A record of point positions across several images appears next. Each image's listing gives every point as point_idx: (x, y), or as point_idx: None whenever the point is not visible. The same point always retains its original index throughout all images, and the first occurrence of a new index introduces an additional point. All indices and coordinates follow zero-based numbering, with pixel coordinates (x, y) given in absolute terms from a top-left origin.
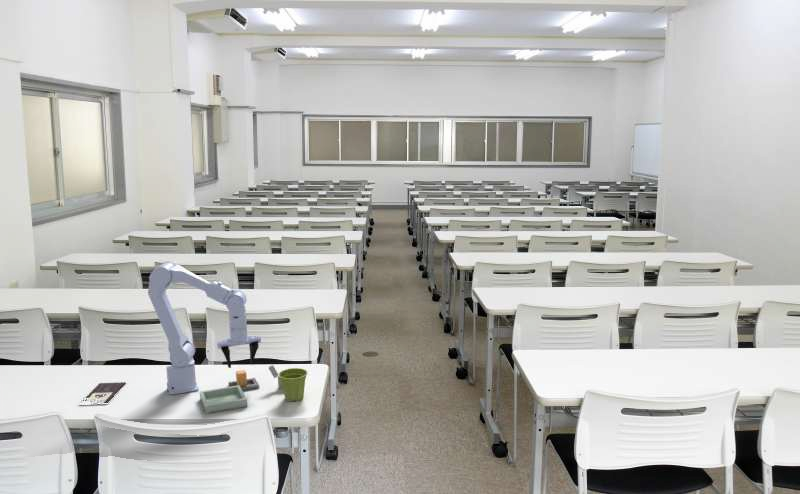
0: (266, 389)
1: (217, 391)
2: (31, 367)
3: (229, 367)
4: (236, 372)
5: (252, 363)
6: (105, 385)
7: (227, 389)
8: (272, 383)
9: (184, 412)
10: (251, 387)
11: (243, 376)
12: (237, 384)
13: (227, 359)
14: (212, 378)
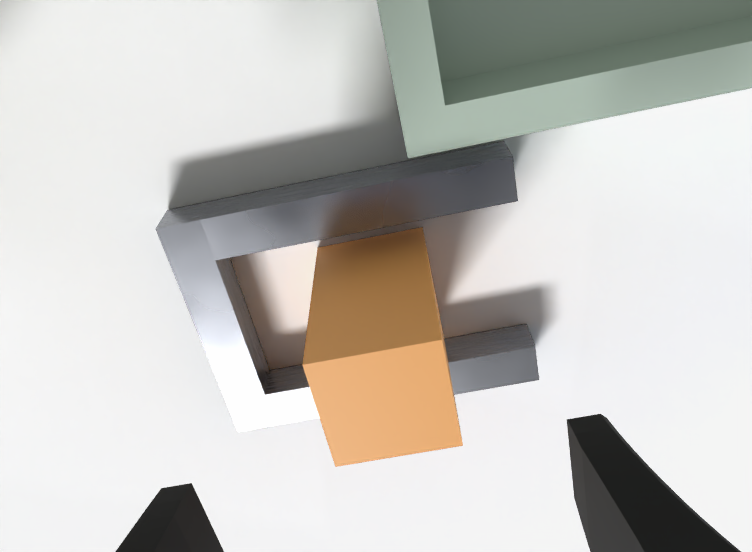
0: (62, 147)
1: (740, 35)
2: None
3: (597, 420)
4: (454, 402)
5: (168, 497)
6: None
7: (588, 67)
8: (28, 311)
9: None
10: (255, 200)
11: (349, 324)
12: (434, 290)
13: (708, 541)
14: None
